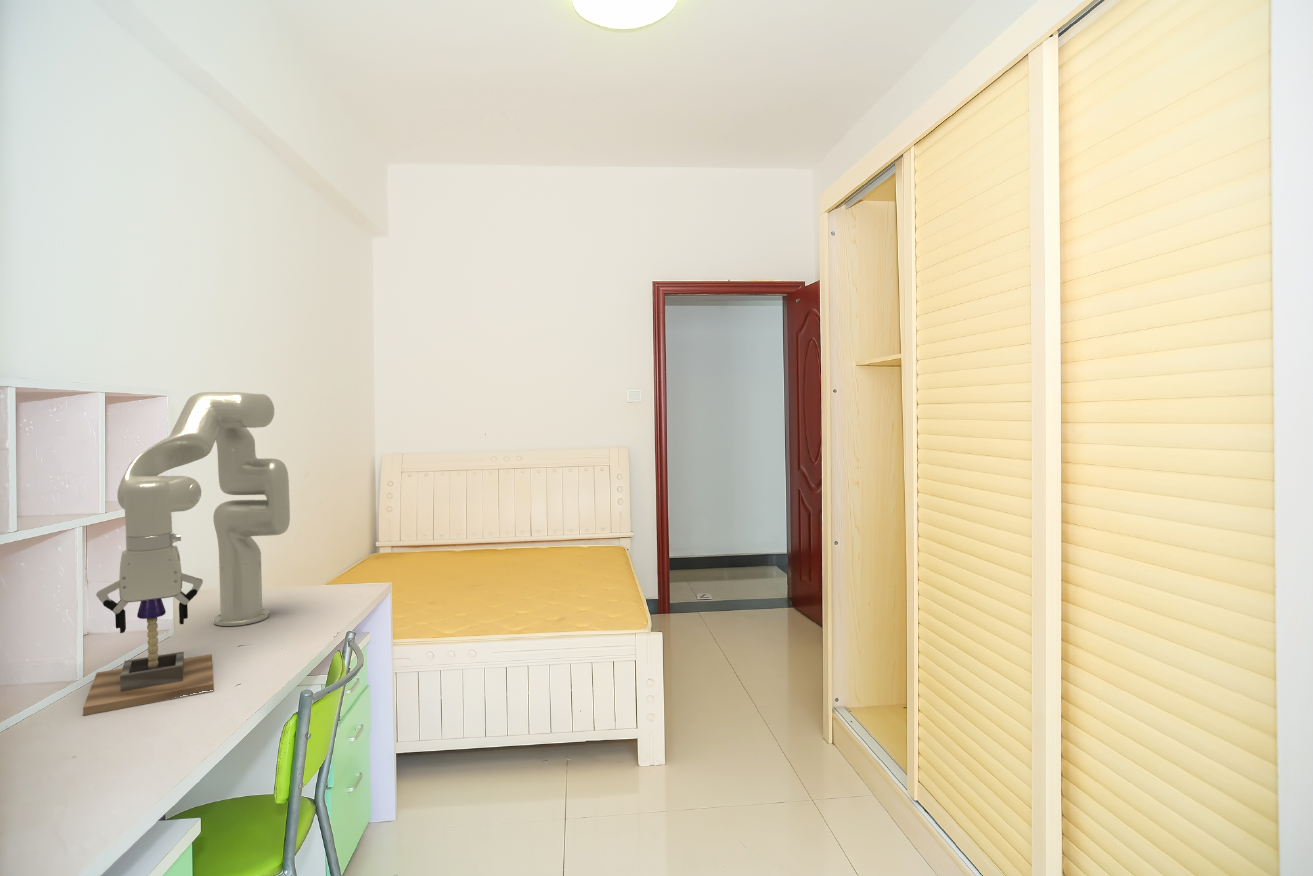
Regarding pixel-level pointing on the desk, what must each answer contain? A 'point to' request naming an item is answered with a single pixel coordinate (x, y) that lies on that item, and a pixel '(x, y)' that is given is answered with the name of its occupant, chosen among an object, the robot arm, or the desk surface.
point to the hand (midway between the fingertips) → (153, 626)
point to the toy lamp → (152, 627)
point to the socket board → (149, 682)
